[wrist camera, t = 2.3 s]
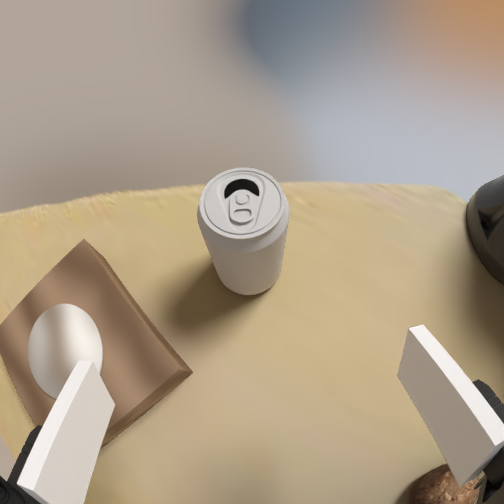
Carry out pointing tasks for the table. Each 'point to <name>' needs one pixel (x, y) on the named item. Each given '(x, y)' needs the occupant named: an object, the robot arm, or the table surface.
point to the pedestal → (87, 341)
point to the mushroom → (443, 488)
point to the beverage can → (244, 228)
